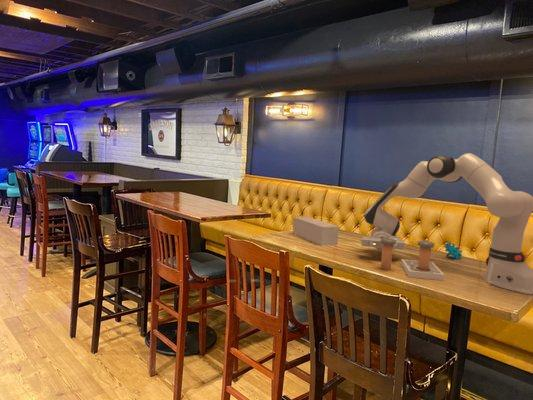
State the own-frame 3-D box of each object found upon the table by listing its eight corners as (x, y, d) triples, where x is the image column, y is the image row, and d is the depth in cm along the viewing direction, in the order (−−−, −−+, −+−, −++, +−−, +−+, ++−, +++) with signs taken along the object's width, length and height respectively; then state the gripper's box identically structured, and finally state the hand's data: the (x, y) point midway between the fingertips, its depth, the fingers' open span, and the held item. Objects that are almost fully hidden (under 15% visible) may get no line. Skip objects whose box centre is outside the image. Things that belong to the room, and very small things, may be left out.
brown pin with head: (396, 271, 178) (399, 241, 176) (385, 273, 175) (388, 241, 173) (385, 267, 184) (387, 237, 182) (374, 269, 180) (377, 238, 179)
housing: (400, 266, 188) (401, 259, 187) (432, 269, 186) (432, 262, 185) (408, 279, 168) (409, 271, 168) (443, 282, 166) (444, 274, 166)
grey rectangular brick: (337, 245, 227) (338, 226, 225) (321, 246, 222) (322, 227, 221) (307, 233, 255) (308, 216, 254) (292, 234, 250) (293, 217, 249)
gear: (450, 257, 205) (443, 240, 211) (443, 262, 209) (436, 246, 215) (467, 259, 209) (459, 243, 215) (459, 265, 213) (452, 248, 219)
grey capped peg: (434, 275, 172) (437, 243, 170) (424, 277, 169) (427, 244, 167) (421, 271, 178) (424, 240, 176) (411, 273, 174) (414, 241, 173)
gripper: (360, 232, 204) (362, 238, 191) (402, 236, 201) (407, 241, 188) (359, 244, 205) (361, 251, 192) (401, 248, 202) (405, 255, 188)
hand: (384, 246), depth 190 cm, fingers open, 8 cm apart
